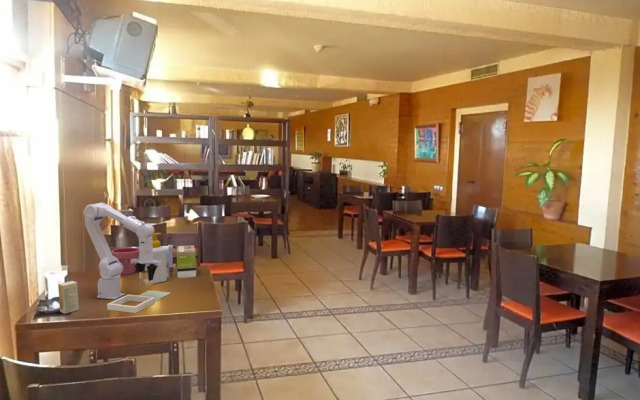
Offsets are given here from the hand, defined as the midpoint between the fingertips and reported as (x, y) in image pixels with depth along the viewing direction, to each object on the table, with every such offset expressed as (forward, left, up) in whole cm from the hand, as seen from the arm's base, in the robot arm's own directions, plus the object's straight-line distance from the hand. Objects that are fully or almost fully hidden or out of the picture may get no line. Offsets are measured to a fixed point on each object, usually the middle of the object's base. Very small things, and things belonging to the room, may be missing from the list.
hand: (146, 279), depth 215 cm
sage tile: (0, +4, -9) cm, 10 cm away
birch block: (0, 0, -2) cm, 2 cm away
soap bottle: (-13, +26, -9) cm, 30 cm away
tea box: (-5, +43, -9) cm, 45 cm away
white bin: (0, -11, -9) cm, 14 cm away
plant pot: (-38, +36, -9) cm, 53 cm away
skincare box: (-21, -24, -9) cm, 33 cm away
